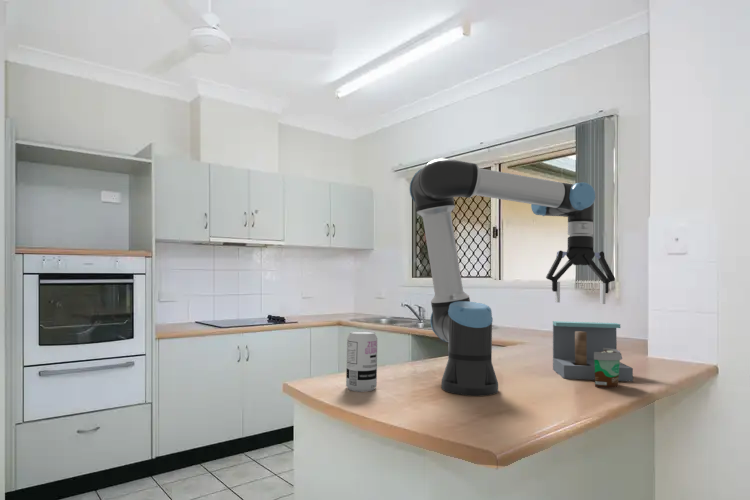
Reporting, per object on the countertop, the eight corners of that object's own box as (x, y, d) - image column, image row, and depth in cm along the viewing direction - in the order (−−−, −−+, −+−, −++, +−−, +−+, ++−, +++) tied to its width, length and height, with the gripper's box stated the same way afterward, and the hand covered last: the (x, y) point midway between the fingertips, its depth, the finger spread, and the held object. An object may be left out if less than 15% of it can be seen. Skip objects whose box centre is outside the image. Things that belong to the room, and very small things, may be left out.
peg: (573, 375, 152) (573, 331, 153) (584, 376, 152) (584, 331, 153) (576, 377, 149) (576, 332, 150) (588, 378, 148) (588, 332, 149)
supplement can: (350, 384, 134) (351, 330, 135) (379, 386, 133) (380, 331, 133) (342, 391, 126) (343, 333, 127) (373, 393, 125) (374, 335, 125)
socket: (563, 378, 148) (563, 325, 149) (552, 369, 162) (552, 321, 162) (632, 381, 145) (632, 327, 146) (615, 372, 159) (615, 323, 160)
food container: (617, 391, 132) (617, 354, 133) (593, 387, 136) (593, 352, 136) (626, 383, 142) (626, 349, 142) (603, 380, 146) (603, 347, 146)
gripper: (542, 234, 151) (541, 302, 149) (626, 235, 147) (626, 305, 146) (537, 236, 158) (536, 301, 157) (617, 237, 155) (617, 303, 154)
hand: (579, 303), depth 152 cm, fingers open, 13 cm apart
